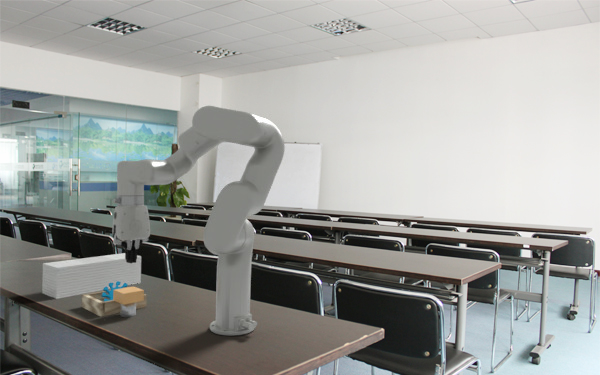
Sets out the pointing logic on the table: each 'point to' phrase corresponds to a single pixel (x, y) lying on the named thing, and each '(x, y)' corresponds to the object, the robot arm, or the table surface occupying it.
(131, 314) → the silver metal rounded piece
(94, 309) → the chassis bay
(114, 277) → the stack of papers
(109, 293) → the gear
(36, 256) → the table surface
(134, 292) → the block
